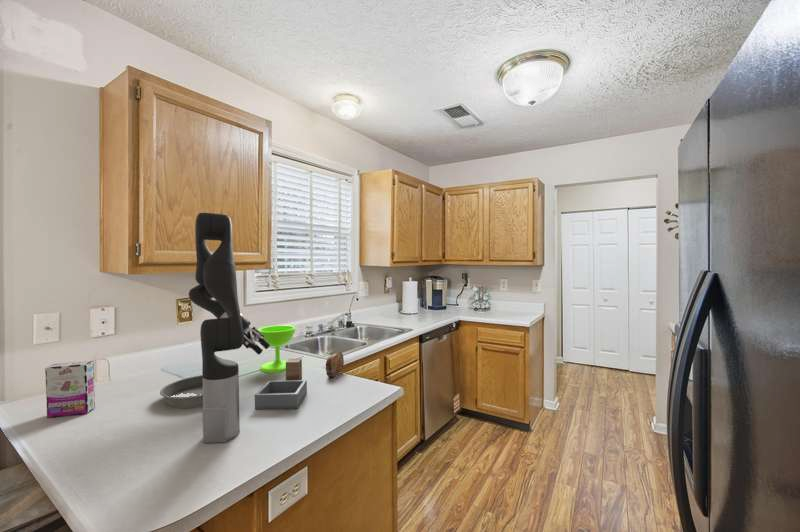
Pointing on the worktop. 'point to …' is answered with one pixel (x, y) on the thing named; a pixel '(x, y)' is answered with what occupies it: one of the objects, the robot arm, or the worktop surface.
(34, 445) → the worktop surface
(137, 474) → the worktop surface
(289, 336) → the wineglass
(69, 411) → the candy bar box
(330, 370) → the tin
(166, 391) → the cake pan
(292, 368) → the brown wooden block
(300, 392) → the box
